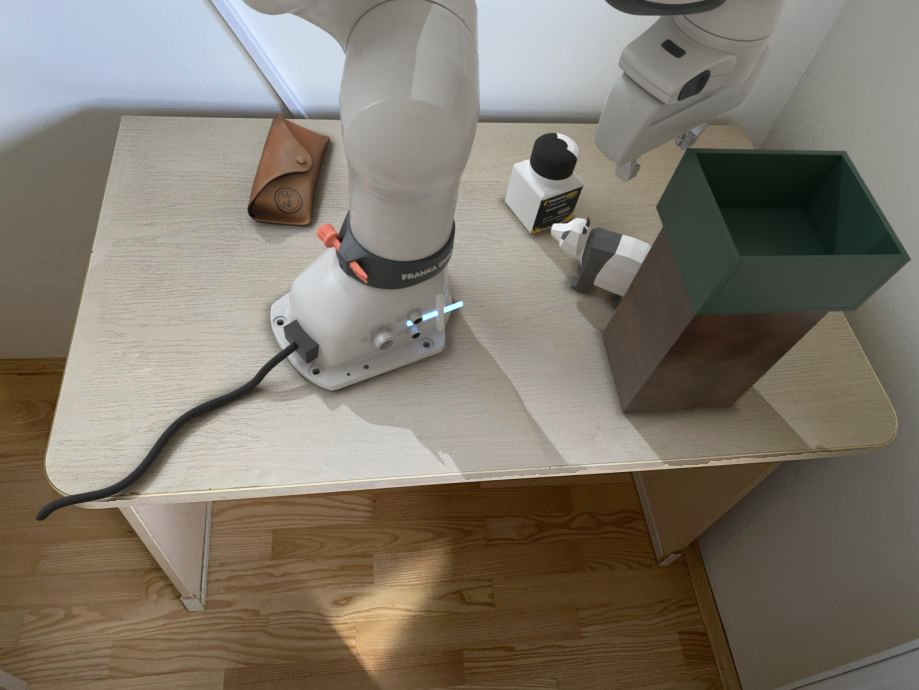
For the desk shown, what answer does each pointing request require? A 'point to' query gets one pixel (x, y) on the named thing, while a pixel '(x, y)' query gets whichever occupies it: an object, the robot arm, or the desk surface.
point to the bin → (776, 232)
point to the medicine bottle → (546, 183)
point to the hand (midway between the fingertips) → (654, 160)
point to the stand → (689, 343)
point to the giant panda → (601, 256)
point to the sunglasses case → (287, 174)
